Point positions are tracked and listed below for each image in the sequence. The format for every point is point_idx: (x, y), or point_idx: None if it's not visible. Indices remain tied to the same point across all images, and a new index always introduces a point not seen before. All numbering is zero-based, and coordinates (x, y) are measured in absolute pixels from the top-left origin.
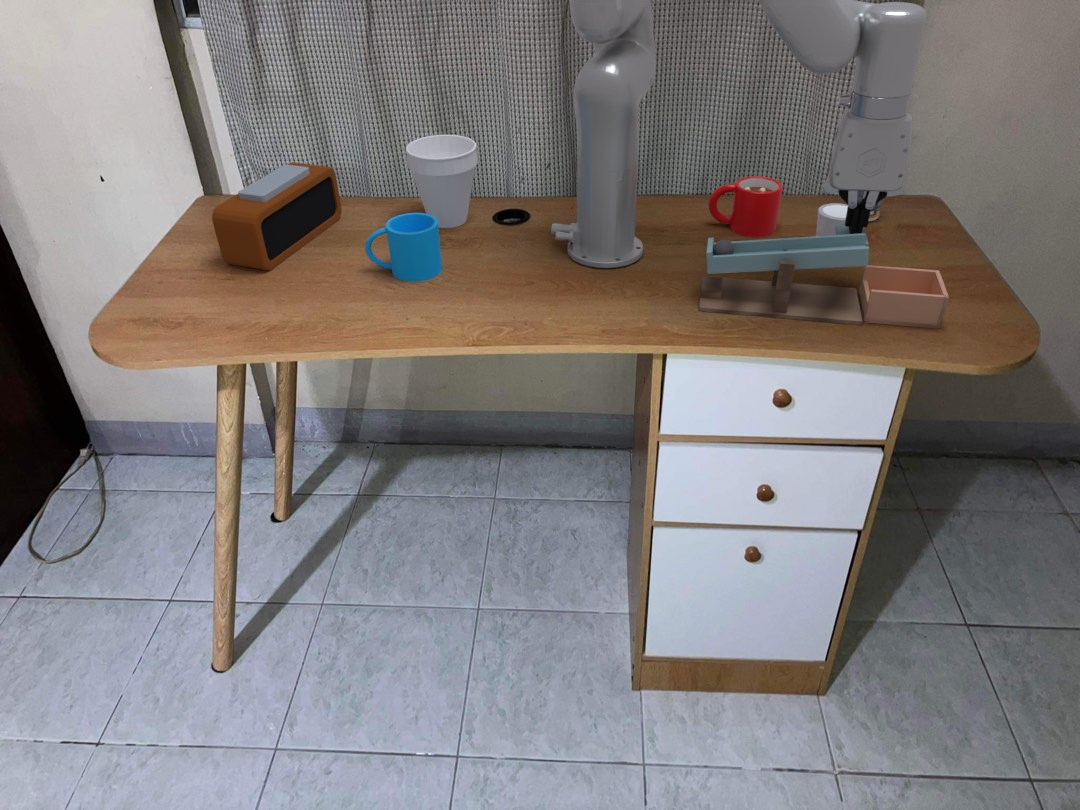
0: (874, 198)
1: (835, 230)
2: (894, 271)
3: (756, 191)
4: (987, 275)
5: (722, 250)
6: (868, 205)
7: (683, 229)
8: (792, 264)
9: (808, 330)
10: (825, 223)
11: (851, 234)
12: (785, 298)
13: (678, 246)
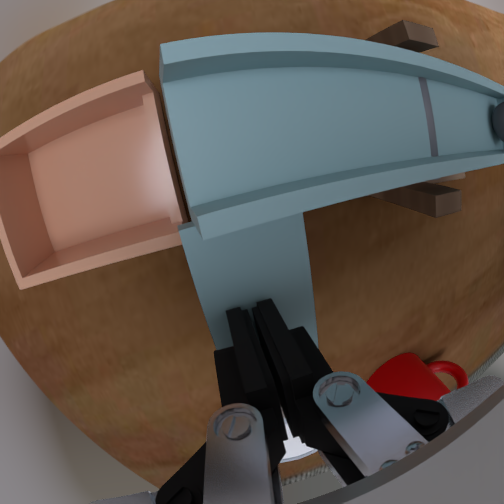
0: (221, 468)
1: None
2: (102, 250)
3: None
4: (32, 375)
5: None
6: (243, 422)
7: (466, 323)
8: (408, 22)
9: (272, 24)
10: None
11: (274, 214)
12: None
13: (478, 273)
